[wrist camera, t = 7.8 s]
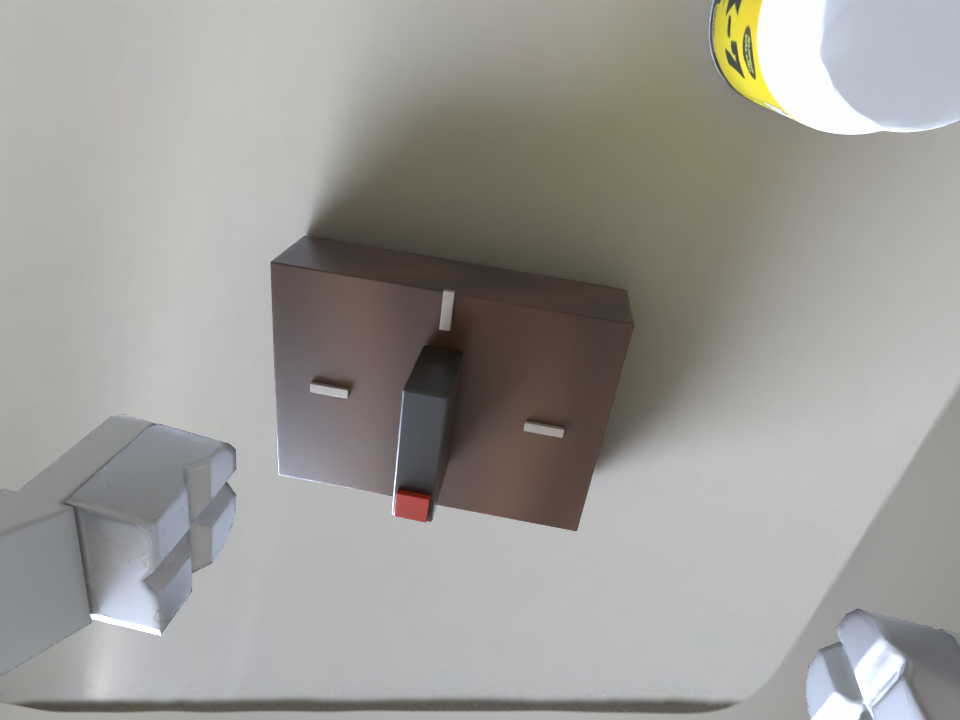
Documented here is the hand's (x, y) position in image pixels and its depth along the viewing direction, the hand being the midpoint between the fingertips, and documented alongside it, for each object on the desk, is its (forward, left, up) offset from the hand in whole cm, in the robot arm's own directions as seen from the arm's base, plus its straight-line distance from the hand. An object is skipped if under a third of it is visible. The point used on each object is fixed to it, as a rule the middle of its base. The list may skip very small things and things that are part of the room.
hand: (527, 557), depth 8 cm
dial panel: (+3, +6, -15) cm, 17 cm away
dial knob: (+3, +6, -12) cm, 14 cm away
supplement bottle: (-5, -7, -16) cm, 18 cm away
